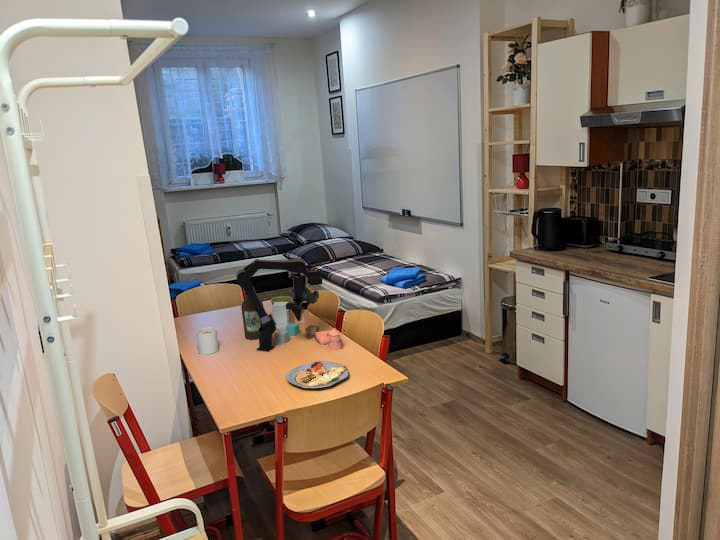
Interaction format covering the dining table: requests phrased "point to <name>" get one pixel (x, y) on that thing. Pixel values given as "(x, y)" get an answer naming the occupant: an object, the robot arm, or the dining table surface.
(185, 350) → the dining table surface
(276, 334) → the slate grey block
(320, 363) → the food plate
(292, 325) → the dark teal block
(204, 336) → the mug
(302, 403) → the dining table surface
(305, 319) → the terracotta block
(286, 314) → the supplement box
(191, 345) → the dining table surface
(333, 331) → the pottery
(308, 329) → the walnut block
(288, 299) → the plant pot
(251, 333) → the olive oil
